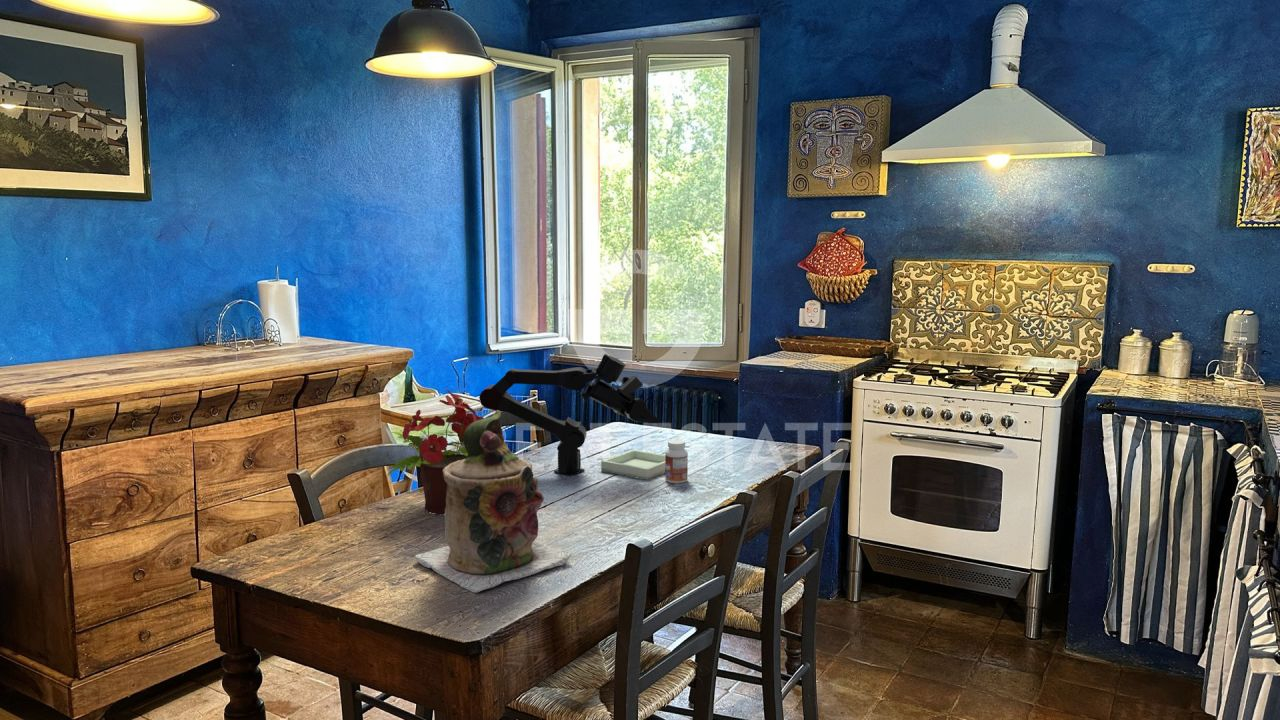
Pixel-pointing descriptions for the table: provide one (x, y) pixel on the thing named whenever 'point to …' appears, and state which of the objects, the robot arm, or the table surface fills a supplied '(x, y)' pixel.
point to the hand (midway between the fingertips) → (654, 419)
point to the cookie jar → (490, 515)
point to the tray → (635, 464)
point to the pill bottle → (676, 462)
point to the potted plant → (436, 451)
